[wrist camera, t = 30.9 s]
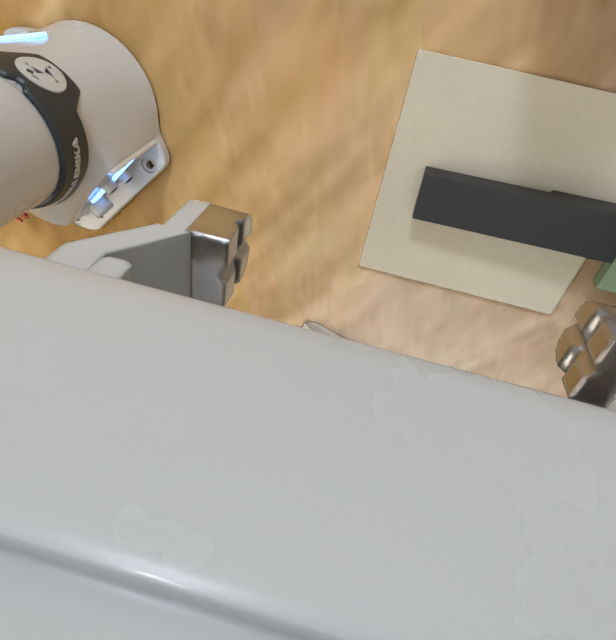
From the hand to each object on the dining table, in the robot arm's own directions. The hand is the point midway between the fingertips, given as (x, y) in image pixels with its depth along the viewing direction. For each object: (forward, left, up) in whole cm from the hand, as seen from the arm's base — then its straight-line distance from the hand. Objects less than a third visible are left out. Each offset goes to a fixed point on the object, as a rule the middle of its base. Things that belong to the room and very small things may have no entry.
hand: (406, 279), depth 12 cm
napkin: (-4, -14, -37) cm, 40 cm away
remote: (-3, -16, -34) cm, 38 cm away
